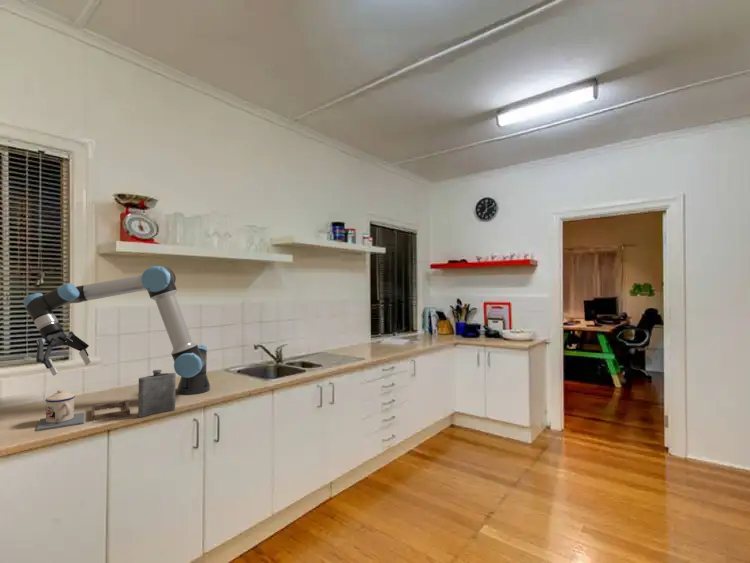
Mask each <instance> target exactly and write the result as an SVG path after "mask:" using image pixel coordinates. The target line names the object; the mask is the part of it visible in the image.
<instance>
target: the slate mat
mask: <svg viewBox="0 0 750 563" xmlns="http://www.w3.org/2000/svg"><path fill="white" fill-rule="evenodd" d="M84 420H85V412H79V413H74V417H73V418H72V419H71V420H68V421H65V422H60V423H47V422H46V417H43V418H40V419H39V422H38V425H37V427H36V432H41V431H46V430H52V429H59V427H60V428H65V427H72V426H77V425H78V426H79V425H84Z"/></svg>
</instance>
